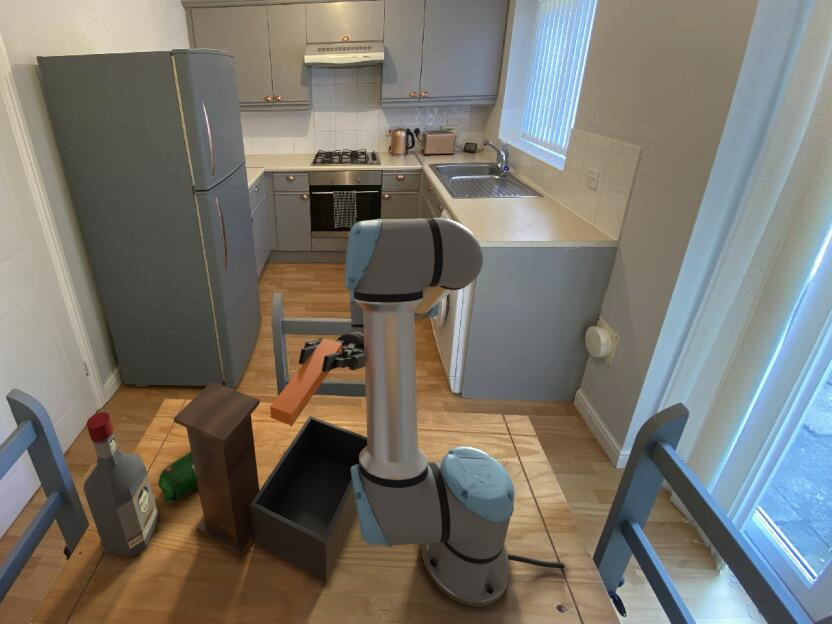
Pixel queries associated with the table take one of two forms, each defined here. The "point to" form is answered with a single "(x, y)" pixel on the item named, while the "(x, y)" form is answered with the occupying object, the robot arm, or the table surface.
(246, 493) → the wooden pedestal column
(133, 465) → the liquor
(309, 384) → the orange bar
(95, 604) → the table surface
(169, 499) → the snack package
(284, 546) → the dark grey open box
